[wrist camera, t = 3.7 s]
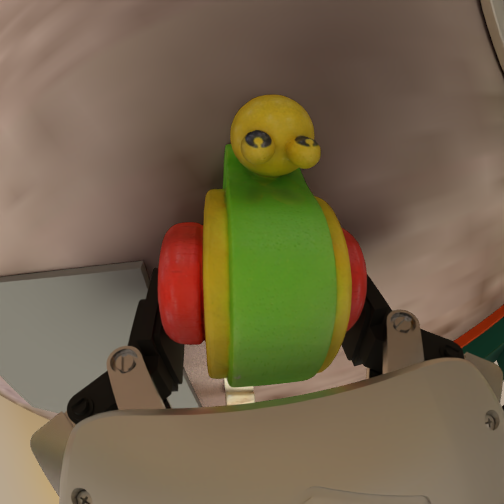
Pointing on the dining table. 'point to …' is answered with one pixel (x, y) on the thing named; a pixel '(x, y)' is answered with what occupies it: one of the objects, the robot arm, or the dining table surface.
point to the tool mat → (70, 330)
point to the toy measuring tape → (263, 261)
